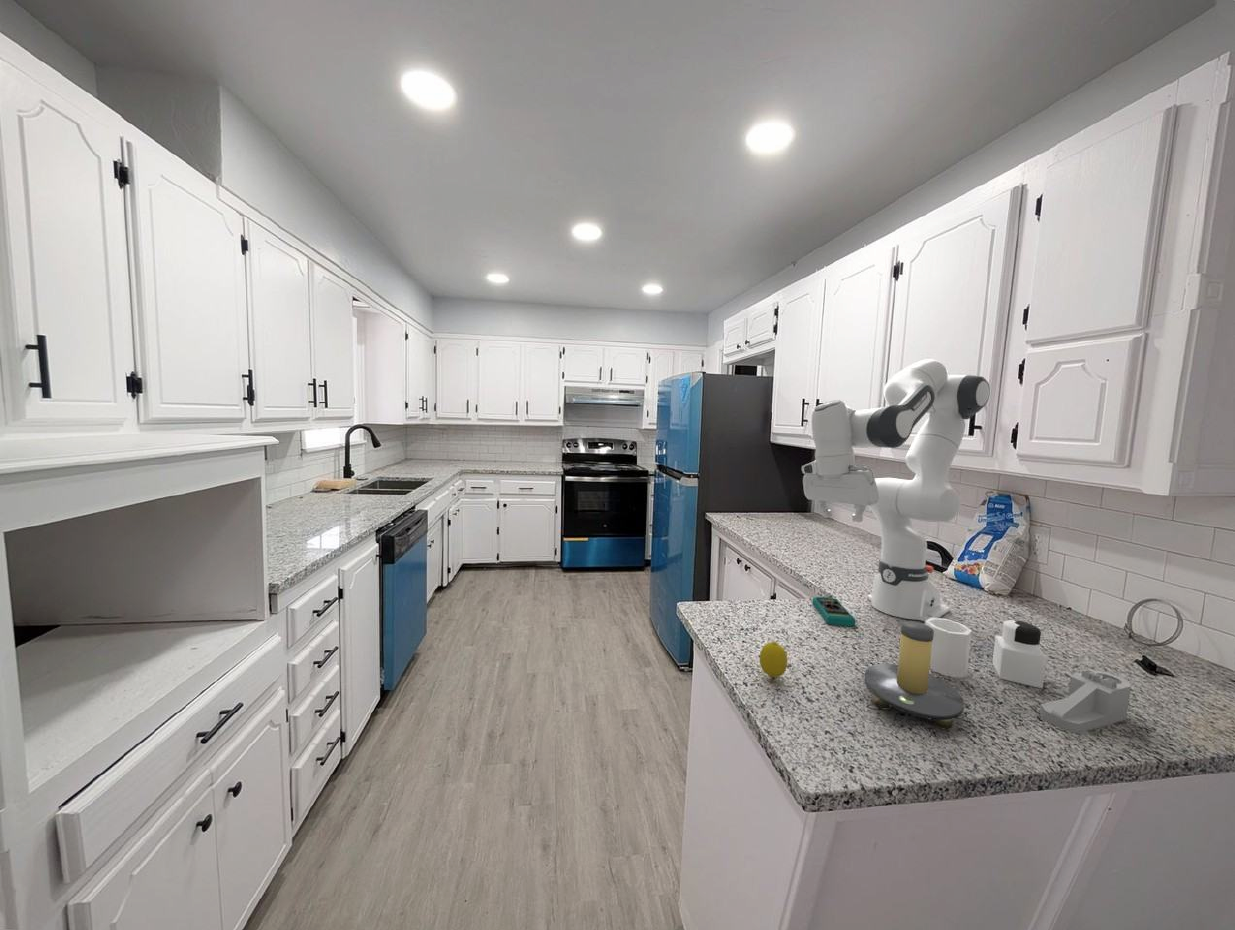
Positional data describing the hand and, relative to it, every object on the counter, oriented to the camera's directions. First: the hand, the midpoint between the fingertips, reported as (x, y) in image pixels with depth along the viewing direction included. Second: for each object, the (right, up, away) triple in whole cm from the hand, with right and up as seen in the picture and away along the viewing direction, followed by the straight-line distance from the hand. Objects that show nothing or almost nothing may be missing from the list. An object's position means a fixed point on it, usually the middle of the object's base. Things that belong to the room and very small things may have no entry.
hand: (841, 519), depth 112 cm
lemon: (-24, -32, -18) cm, 44 cm away
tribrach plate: (0, -33, -26) cm, 42 cm away
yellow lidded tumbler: (0, -29, -26) cm, 39 cm away
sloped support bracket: (+32, -35, -28) cm, 55 cm away
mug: (+16, -33, -12) cm, 38 cm away
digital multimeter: (+5, -30, +15) cm, 34 cm away
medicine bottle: (+31, -33, -15) cm, 48 cm away
